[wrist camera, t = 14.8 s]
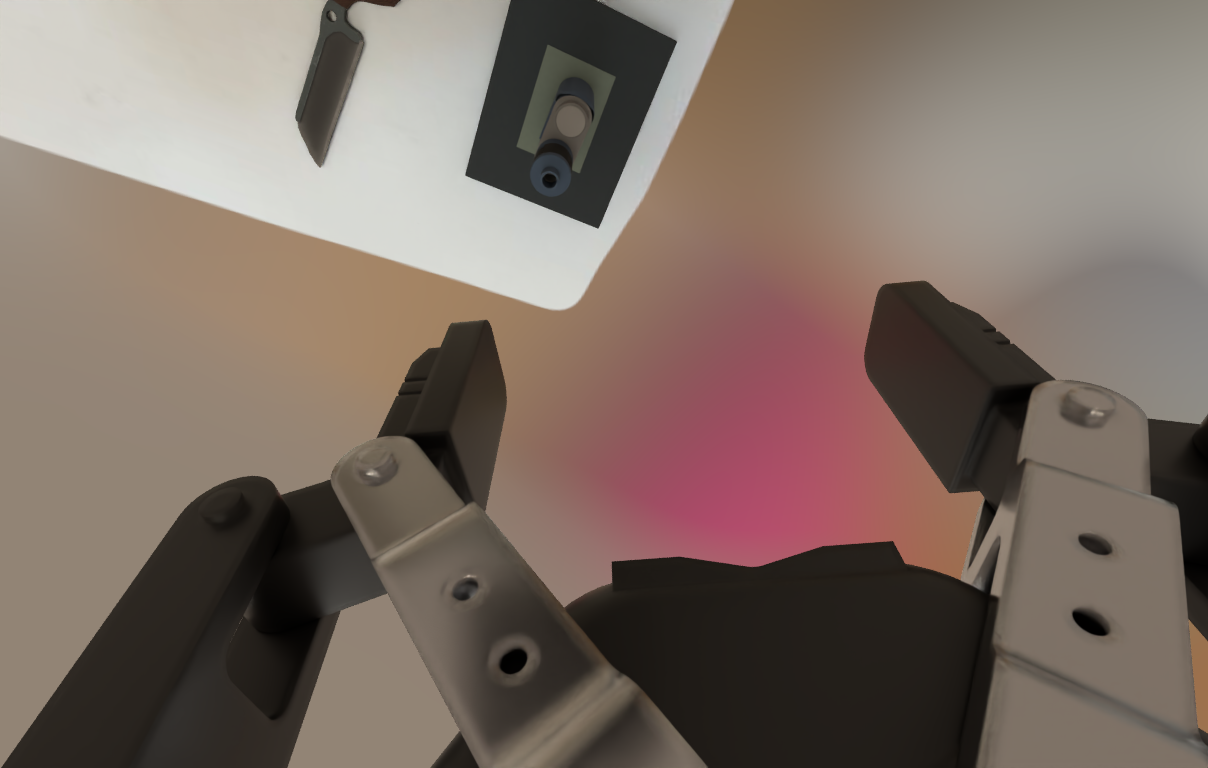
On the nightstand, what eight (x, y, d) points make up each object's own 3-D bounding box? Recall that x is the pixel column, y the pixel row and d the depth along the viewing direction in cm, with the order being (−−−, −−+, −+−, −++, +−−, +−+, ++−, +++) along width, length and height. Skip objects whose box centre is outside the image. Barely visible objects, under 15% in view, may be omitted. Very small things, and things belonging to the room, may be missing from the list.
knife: (346, -57, 34) (342, -58, 34) (407, -13, 35) (404, -13, 35) (285, 145, 41) (280, 147, 40) (338, 175, 42) (335, 177, 42)
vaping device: (536, 141, 41) (519, 190, 31) (566, 68, 38) (557, 97, 28) (568, 157, 41) (561, 211, 32) (600, 87, 39) (602, 122, 29)
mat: (521, -38, 35) (520, -38, 34) (676, 41, 38) (677, 41, 37) (466, 173, 42) (464, 175, 42) (598, 226, 45) (598, 229, 45)
